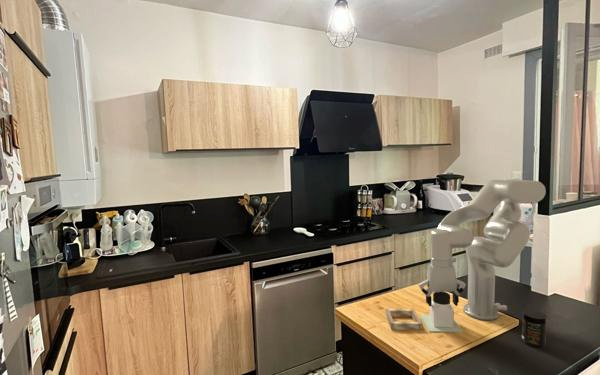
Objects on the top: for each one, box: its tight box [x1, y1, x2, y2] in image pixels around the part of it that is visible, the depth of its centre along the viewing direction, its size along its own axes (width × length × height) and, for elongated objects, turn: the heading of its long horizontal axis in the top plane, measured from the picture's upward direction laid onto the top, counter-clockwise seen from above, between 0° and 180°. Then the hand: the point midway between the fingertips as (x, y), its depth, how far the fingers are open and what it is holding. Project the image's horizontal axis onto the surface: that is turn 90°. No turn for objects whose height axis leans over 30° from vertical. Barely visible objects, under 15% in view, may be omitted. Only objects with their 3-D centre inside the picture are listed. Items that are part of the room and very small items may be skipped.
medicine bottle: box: [429, 292, 455, 328], centre depth 125 cm, size 7×7×12 cm
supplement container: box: [521, 309, 548, 349], centre depth 110 cm, size 7×7×10 cm
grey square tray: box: [385, 308, 423, 331], centre depth 127 cm, size 11×11×2 cm
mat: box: [419, 314, 464, 333], centre depth 125 cm, size 12×12×1 cm
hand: (442, 304), depth 125 cm, fingers open, 9 cm apart
